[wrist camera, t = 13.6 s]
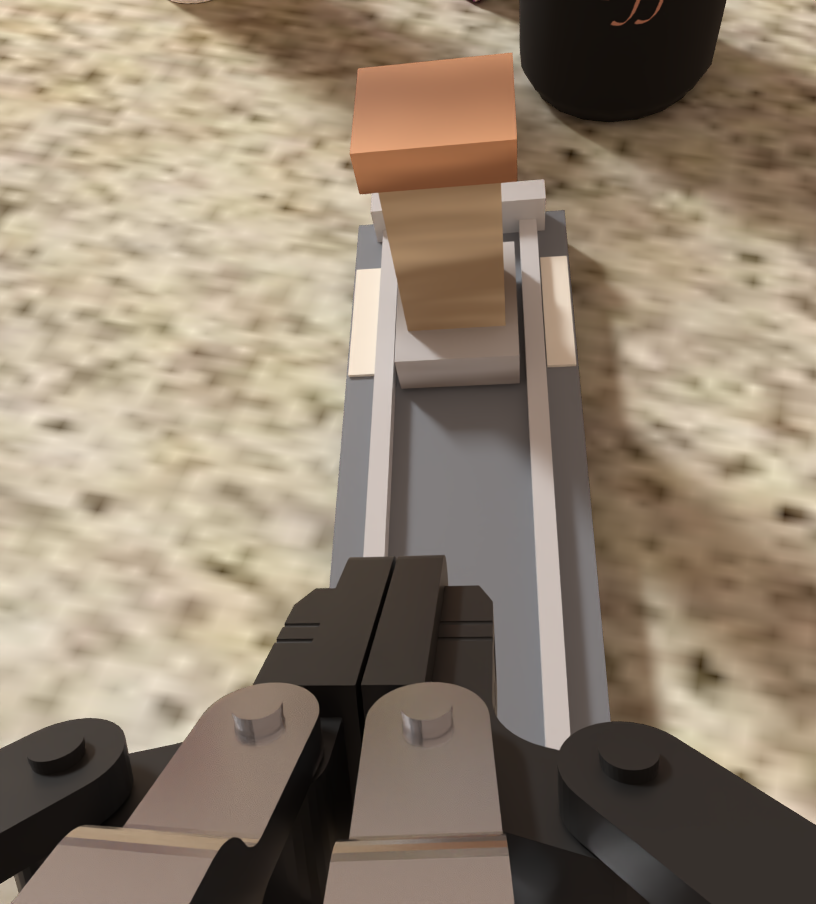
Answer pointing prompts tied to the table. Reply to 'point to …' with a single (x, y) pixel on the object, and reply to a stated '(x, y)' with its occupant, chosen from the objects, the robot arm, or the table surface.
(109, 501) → the table surface
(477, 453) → the track
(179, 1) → the cylindrical container
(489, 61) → the slider
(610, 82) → the coffee jar
